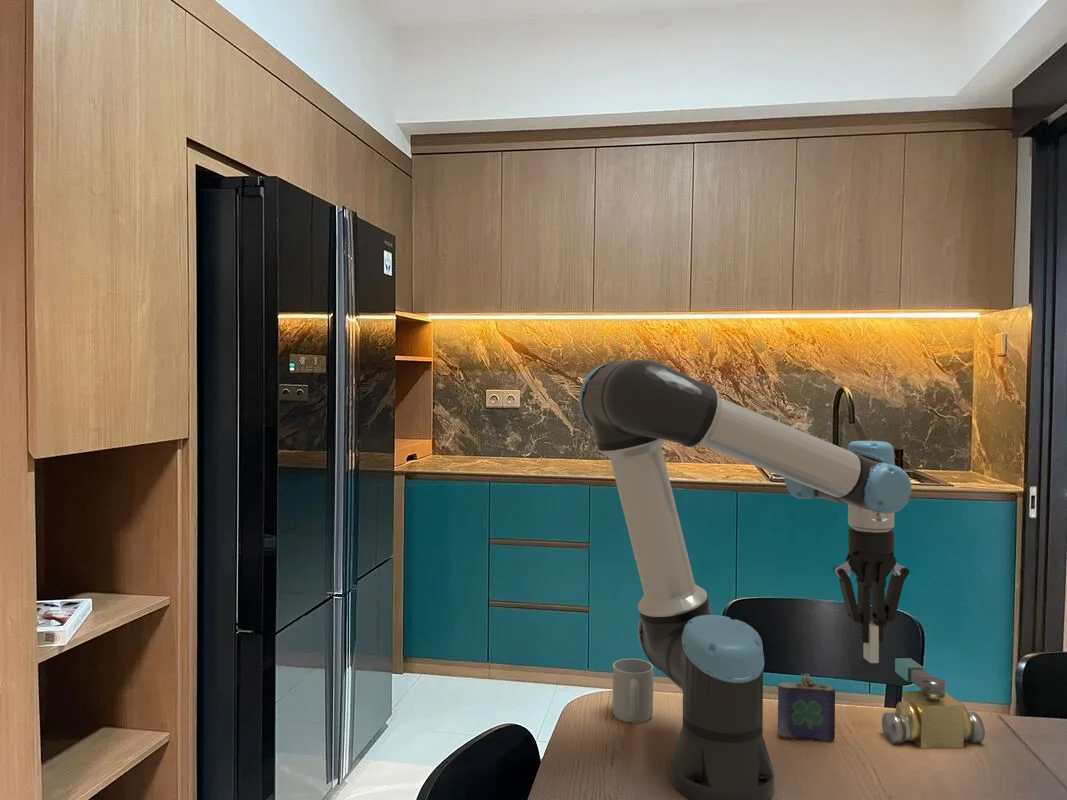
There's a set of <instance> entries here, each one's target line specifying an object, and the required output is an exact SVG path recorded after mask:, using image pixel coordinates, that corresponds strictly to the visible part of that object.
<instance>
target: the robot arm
mask: <svg viewBox="0 0 1067 800" xmlns="http://www.w3.org/2000/svg"><path fill="white" fill-rule="evenodd" d="M578 404H579V405H578V406H579V409H580V412H581V414H582V416H583V418H584V419H585V421H586V422H587V424H589V426H591V427H592V429H593V434H594V436H595V441H596V446H597V449H598V452H599V453H600V454H602V455H604V456H605V457H607V458H608V459H610V463H611V464H610V465H611V468H612V471H613V475H614V480H615V483H616V487H617V492H618V495H619V500H620V504H621V508H622V511H623V515H624V519H625V523H626V528H627V531H628V535H629V539H630V543H631V547H632V551H633V555H634V559H635V564H636V567H637V571H638V574H639V579H640V583H641V588H642V590H643V591H642V592H643V596H642V598H640V601H639V603H637V610H638V614H639V617H640V618H639V620H638V623H637V629H636V630H637V633H636V634H637V638H638V639H637V640H638V644H639V646H640V649H641V651H642V652H643V654H644V656H645V657H646V660H648V662H649V663H651V664H652V665H653V667H654V668H656V669H657V670H659V671H660V672H661V673H662V674H664V676H665V677H667V678H668V679H669V680H670V681H671V682H673V683H674V684H675V685H676V686H677V687H678V688H679V689H680V690H681V691H682V727H681V729H680V733H679V735H678V736H679V737H678V739H677V742H676V745H675V748H674V750H673V754H672V757H671V759H670V782H671V783H672V786H674V788H675V789H676V790H677V791H678V792H679V793H681V795H683V796H685V797H687V798H689V799H690V800H770V799H772V798H773V796H774V793H775V786H776V785H775V782H776V781H775V779H776V778H775V771H774V766H773V765H772V761H771V757H770V754H769V752H768V748H767V746H766V742H765V738H764V735H763V726H764V725H763V721H764V720H763V714H764V712H763V710H764V708H763V707H764V704H763V703H764V667H765V656H764V650H763V649H764V648H763V641H762V638H761V636H760V635H759V632H757V630H756V629H755V628H753V627H752V626H751V625H749V624H748V623H746V622H744V621H742V620H739V619H737V618H735V619H731V617H729V616H725V615H720V614H719V615H718V614H713V613H712V610H711V609H712V608H711V605H710V600H709V597H708V593H707V591H706V590H705V589H704V588H702V587H700V586H699V585H697V583H695V579H694V576H693V571H692V567H691V563H690V558H689V555H688V550H687V546H686V543H685V538H684V534H683V530H682V526H681V521H680V517H679V514H678V510H677V505H676V501H675V498H674V493H673V489H672V484H671V482H670V476H669V472H668V469H667V463H666V461H665V456H664V452H663V448H662V447H663V445H664V443H665V441H668V442H672V443H676V444H680V445H681V446H683V447H687V448H695V447H699V446H702V447H706V448H708V449H711V450H713V451H716V452H718V453H721V454H723V455H727V456H728V457H732V458H734V459H737V460H738V461H739V460H740V461H742V462H745V463H747V464H749V465H752V466H754V467H758V468H760V469H762V470H765V471H767V472H770V473H773V474H776V475H777V476H778V475H779V476H780V477H783V478H784V482H785V486H786V489H787V491H788V493H789V494H790V495H791V496H792V497H794V498H796V499H799V500H800V499H801V500H802V499H804V500H805V499H806V500H813V499H823V500H827V501H831V502H836V503H840V504H843V505H847V508H848V509H847V511H848V512H847V525H849V526H850V527H849V529H848V530H847V537H848V538H847V541H848V542H847V549H848V554H847V555H846V558H845V562H844V563H842V564H841V565H839V566H838V565H834V567H833V568H832V570H833V573H834V574H835V575H836V577H837V578H838V582H839V585H840V590H841V593H842V598H843V602H844V606H845V611H846V615H847V617H848V618H849V619H850V620H851V621H853V622H855V623H858V639H859V641H860V642H861V643H863V645H862V646H863V653H862V654H863V655H862V656H863V657H862V658H863V659H864V660H866V661H867V662H869V664H879V663H880V661H879V660H880V659H879V658H880V656H879V655H880V653H879V652H880V651H879V650H880V649H879V648H880V644H881V643H883V642H884V627H887V625H888V624H887V623H889V622H891V623H893V622H894V621H895V619H896V615H897V611H898V608H899V604H900V598H901V595H902V591H903V586H904V581H906V579H907V577H908V576H909V574H910V572H911V571H910V569H909V568H908V567H906V566H903V565H901V564H899V563H897V558H896V556H895V532H894V530H893V528H894V527H895V513H897V512H899V511H900V510H902V509H903V508H904V507H905V506H906V505H907V504H908V502H909V500H910V498H911V494H912V482H911V479H910V476H909V475H908V473H907V472H906V471H905V469H903V468H901V467H900V466H897V465H896V462H895V451H894V447H893V445H892V444H891V443H890V442H887V441H882V440H881V441H880V440H879V441H878V440H856V441H854V440H853V441H850V442H849V443H848V445H847V448H846V449H845V448H843V447H841V446H838V445H836V444H834V443H830V442H829V441H826V440H824V439H822V438H818V437H816V436H814V435H811V434H809V433H806V432H804V431H802V430H799V429H797V428H795V427H792V426H791V425H788V424H784V423H782V422H780V421H778V420H775V419H773V418H771V417H768V416H765V415H763V414H761V413H759V412H756V411H754V410H751V409H748V408H747V407H744V406H741V405H739V404H736V403H734V402H731V401H729V400H727V399H724V398H722V397H720V394H719V391H718V390H717V389H716V388H715V387H713V386H711V385H708V384H706V383H703V382H702V381H700V380H698V379H695V378H693V377H691V376H689V375H687V374H685V373H683V372H680V371H679V370H676V369H674V368H671V367H670V366H667V365H665V364H662V363H660V362H657V361H653V360H649V359H634V360H615V361H609V362H607V363H604V364H602V365H599V366H597V367H596V368H594V369H593V370H592V371H590V372H589V373H588V375H586V377H585V379H584V380H583V382H582V384H581V386H580V389H579V394H578ZM851 571H852V573H853V574H854V576H855V577H856V578H855V580H856V581H855V582H856V584H857V597H856V595H855V591H854V587H853V582H852V580H851ZM889 574H891V575H890V578H889V581H888V582H889V583H888V585H887V578H888V576H889ZM886 587H887V590H886ZM885 590H886V591H885ZM856 599H857V600H856ZM871 620H872V621H871Z"/></svg>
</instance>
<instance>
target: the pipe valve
mask: <svg viewBox="0 0 1067 800" xmlns="http://www.w3.org/2000/svg"><path fill="white" fill-rule="evenodd" d="M894 711H895V712H883V715H882V718H881V726H882V727H881V728H882V731H883V735H884V737H885V738H886V739H887V740H888V741H889V742H890V743H891V744H892V745H893V744H896V745H897V744H899V745H900V744H904V743H905V742H914V744H916V745H917V746H918V747H919V748H920V749H964V741H966V742H969V741H970V742H971V744H981V743H983V742H984V741H985V737H986V731H985V726H984V722H983V720H982V717H981V716H980V715H979V714H978V713H976V712H975V711H968V709H967V708H966V706H965V705H964V703H962V702H961V701H959V700H957V699H955V698H954V697H953V696H952V695H950V694H949V693H947V692H946V691H945V697H944V698H931V697H927V696H925V695H923V694H922V693H921V690H903V691H902V701H899V702H898V703H897V704H896V706H895V710H894ZM970 742H969V743H970Z"/></svg>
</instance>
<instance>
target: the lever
mask: <svg viewBox="0 0 1067 800" xmlns="http://www.w3.org/2000/svg"><path fill="white" fill-rule="evenodd" d="M894 667H895V668H894V672H895V673H896V675H898V676H900V677H901V678H902V679H903V680H905V682H908V683H913V684H914V685H915V686H917V687H918V688H919V689H920V691H921V693H922V694H923V695H925V696H927V697H931V698H944V697H945V692H946V681H945V680H944V679H942V678H939V677H936V676H933V675H931V674H930V673H929V672H927V671H926V670H924V669H925V667H923V666H922V665H921V664H919V662H917V661H916V660H914V659H912V658H910V657H907V658H906V657H904V658H903V657H901V658H896V657H895V658H894Z"/></svg>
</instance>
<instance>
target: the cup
mask: <svg viewBox="0 0 1067 800" xmlns="http://www.w3.org/2000/svg"><path fill="white" fill-rule="evenodd" d="M612 713H613V715H614V717H615V718H616V719H617V718H618V719H617V720H619V721H621V722H624V723H628V722H632V723H631V724H641V722H642V723H645V721H646V722H648V721H650V720H651V719H652V718H653V714H654V665H653V664H651V662H650V661H647V660H644V659H641V658H640V659H639V658H623V659H618V660H616V661H614V662H613V663H612ZM650 718H651V719H650ZM649 719H650V720H649Z"/></svg>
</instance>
